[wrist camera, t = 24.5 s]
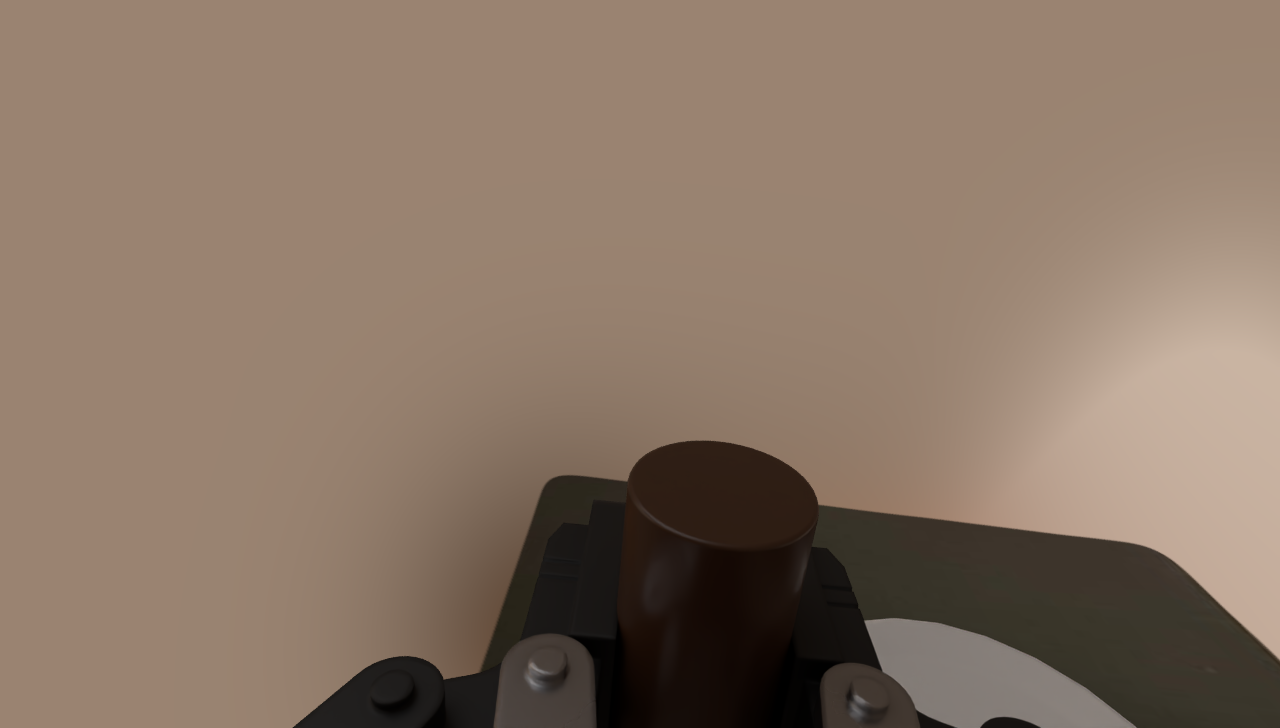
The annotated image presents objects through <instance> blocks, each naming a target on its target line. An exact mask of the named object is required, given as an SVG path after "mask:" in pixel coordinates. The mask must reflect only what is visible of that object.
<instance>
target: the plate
mask: <svg viewBox="0 0 1280 728" xmlns="http://www.w3.org/2000/svg"><path fill="white" fill-rule="evenodd" d="M864 622H865V624H866V627H867V630H868V633H869V635H870V638H871V641H872V643H873V646H874V649H875V652H876V654H877V657H878V660H879V662H880V665H881V668H882V671H883V672H884V673H886V674H887V675H889V676H891V677H892V678H893V679H895V680H896V681H897V682H898V683H899V684H900V685H901V686H902V687H903V688H904V689H905V690H906V691H907V693H908V694H909V695H910V697H911V699H912V701H913V703H914V705H915V708H916V710H918V711H919V712H921V713H923V714H925V715H926V716H928V717H930V718H933V719H935V720H937V721H940V722H943V723H945V724H948V725H951V726H954V727H956V728H980V727H981V726H982V725H983V724H984V723H985V722H986V721H988V720H989V719H992V718H996V717H1013V718H1017V719H1021V720H1024V721H1027V722H1030V723H1032V724H1035V725H1037V726H1039V727H1041V728H1137V727H1135V726H1134V725H1133V724H1132V723H1130V722H1129V721H1128V720H1126V719H1125V718H1124V717H1123V716H1121V715H1120V714H1119V713H1117V712H1116V711H1115V710H1114V709H1112V708H1111V707H1110V706H1108V705H1107V704H1106V703H1105V702H1103V701H1102V700H1101V699H1099V698H1098V697H1097V696H1096V695H1094V694H1093V693H1092V692H1090V691H1089V690H1088V689H1087V688H1085V687H1083V686H1082V685H1080V684H1078V683H1077V682H1075V681H1073V680H1072V679H1070V678H1068V677H1067V676H1065V675H1063V674H1061V673H1060V672H1058V671H1056V670H1055V669H1053V668H1051V667H1050V666H1048V665H1046V664H1045V663H1043V662H1041V661H1040V660H1038V659H1036V658H1034V657H1032V656H1030V655H1028V654H1025V653H1023V652H1021V651H1018V650H1016V649H1014V648H1012V647H1009V646H1007V645H1005V644H1002V643H1000V642H998V641H995V640H993V639H991V638H989V637H986V636H983V635H980V634H976V633H972V632H969V631H965V630H962V629H958V628H954V627H951V626H947V625H944V624H940V623H934V622H925V621H916V620H907V619H898V618H890V619H879V620H868V621H864Z"/></svg>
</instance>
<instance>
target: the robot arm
mask: <svg viewBox="0 0 1280 728" xmlns="http://www.w3.org/2000/svg"><path fill="white" fill-rule="evenodd" d="M625 507H626V503H624V502H613V501H603V500H594V501H593V505H592V510H591V515H590V521H589V525H580V524H570V523H563V524H562V525H561V527H560V528H559V529H558V530H557V531H556V532H555V533H554V534H553V535H552V536H551V537H550V538H549V539H548V543H547V546H546V550H545V554H544V557H543V562H542V564H541V568H540V572H539V577H538V579H537V583H536V586H535V590H534V593H533V597H532V601H531V604H530V608H529V611H528V615H527V619H526V622H525V626H524V630H523V633H522V637H521V639H520V642H519V643H517V644H516V645H515V646H513V647H512V648H511V649H510V650H509V652H508V653H507V654H506V656H505V657H504V660H503V662H501V663H500V664H498V665H497V666H495V667H493V668H491V669H489V670H486V671H483V672H480V673H476V674H472V675H467V676H461V677H456V678H450V679H445V680H443V676H442V675H441V673H440V671H439V670H438V669H437V668H436V667H435V666H434V665H433V664H431V663H430V662H428V661H426V660H424V659H421V658H417V657H410V656H404V657H403V656H399V657H393V658H388V659H385V660H381V661H379V662H376V663H374V664H372V665H370V666H368V667H367V668H365V669H364V670H362V671H361V672H360V673H358V674H357V675H356V676H354V677H353V678H352V679H351V680H350V681H348V682H347V683H346V684H345V685H344V686H342V687H341V688H340V689H339V690H338V691H336V692H335V693H334V694H333V695H332V696H330V697H329V698H328V699H327V700H326V701H324V702H323V703H322V704H321V705H320V706H318V707H317V708H316V709H315V710H313V711H312V712H311V713H310V714H309V715H307V716H306V717H305V718H304V719H303V720H301V721H300V722H299V723H298V724H296V726H294V727H293V728H608V726H609V715H610V704H611V693H612V682H613V671H614V660H615V649H616V637H617V626H618V615H617V598H618V586H619V575H620V564H621V552H622V541H623V530H624V518H625ZM771 728H956V727H954V726H951V725H948V724H945V723H943V722H940V721H937V720H935V719H933V718H930V717H928V716H926V715H925V714H923V713H921V712H919V711H918V710H916V708H915V705H914V703H913V701H912V699H911V697H910V695H909V694H908V693H907V691H906V690H905V689H904V688H903V687H902V686H901V685H900V684H899V683H898V682H897V681H896V680H895V679H893V678H892V677H891V676H889V675H887V674H886V673H884V672H883V671H882V668H881V665H880V662H879V660H878V657H877V654H876V652H875V649H874V646H873V643H872V641H871V638H870V635H869V633H868V630H867V627H866V624H865V622H864V619H863V616H862V614H861V611H860V609H858V603H857V600H856V597H855V595H854V592H852V586H851V584H850V581H849V578H848V576H847V573H846V570H845V567H844V566H843V565H842V564H841V563H840V562H839V561H838V560H837V559H836V558H835V556H834V555H833V554H832V553H831V552H830V551H829V550H828V549H827V548H817V547H812V548H811V552H810V556H809V561H808V565H807V570H806V574H805V579H804V583H803V588H802V592H801V596H800V601H799V605H798V610H797V614H796V619H795V623H794V628H793V632H792V636H791V641H790V645H789V650H788V654H787V659H786V663H785V667H784V672H783V676H782V681H781V685H780V690H779V694H778V699H777V703H776V707H775V712H774V716H773V721H772V725H771ZM980 728H1041V727H1039V726H1037V725H1035V724H1032V723H1030V722H1027V721H1024V720H1021V719H1017V718H1013V717H996V718H992V719H989V720H988V721H986V722H985V723H984V724H983V725H982V726H981V727H980Z"/></svg>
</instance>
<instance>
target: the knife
mask: <svg viewBox="0 0 1280 728" xmlns="http://www.w3.org/2000/svg"><path fill="white" fill-rule="evenodd" d="M818 516H819V506H818V501H817V497H816V495H815V493H814V490H813V489H812V487H811V486H810V484H809V483H808V482H807V481H806V479H805V478H804V477H803V476H801V475H800V474H799V473H798V472H797V471H796V470H795V469H793V468H792V467H790V466H789V465H787V464H786V463H784V462H782V461H781V460H779V459H777V458H775V457H773V456H770V455H768V454H766V453H764V452H761V451H758V450H755V449H752V448H749V447H745V446H741V445H736V444H732V443H726V442H716V441H686V442H678V443H674V444H669V445H666V446H663V447H660V448H657V449H655V450H653V451H651V452H649V453H647V454H646V455H645V456H643V457H642V458H641V459H640V460H639V461H638V462H637V463H636V464H635V466H634V467H633V469H632V471H631V472H630V475H629V478H628V485H627V496H626V507H625V518H624V530H623V541H622V552H621V564H620V575H619V586H618V598H617V615H618V626H617V637H616V649H615V660H614V671H613V682H612V693H611V704H610V715H609V726H608V728H771V725H772V721H773V716H774V712H775V707H776V703H777V699H778V694H779V690H780V685H781V681H782V676H783V672H784V667H785V663H786V659H787V654H788V650H789V645H790V641H791V636H792V632H793V628H794V623H795V619H796V614H797V610H798V605H799V601H800V596H801V592H802V588H803V583H804V579H805V574H806V570H807V565H808V561H809V556H810V552H811V548H812V543H813V539H814V534H815V530H816V525H817V521H818Z"/></svg>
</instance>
